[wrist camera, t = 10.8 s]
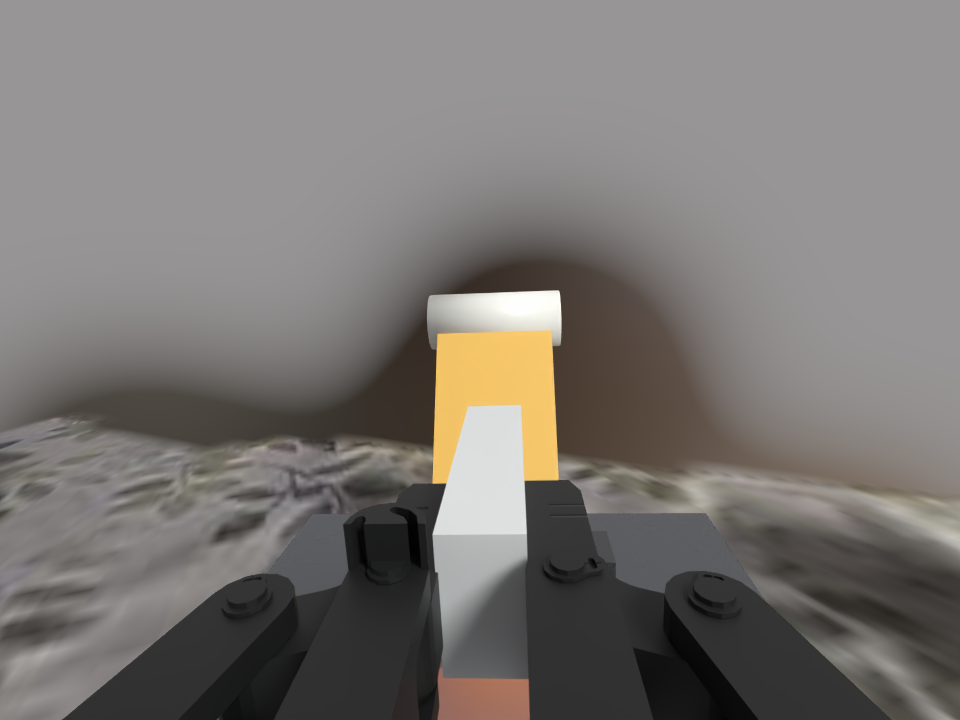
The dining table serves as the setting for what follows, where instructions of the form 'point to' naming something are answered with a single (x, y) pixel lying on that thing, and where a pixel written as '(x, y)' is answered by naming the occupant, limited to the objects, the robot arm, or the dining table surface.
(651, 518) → the switch panel
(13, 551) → the dining table surface
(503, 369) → the lever
